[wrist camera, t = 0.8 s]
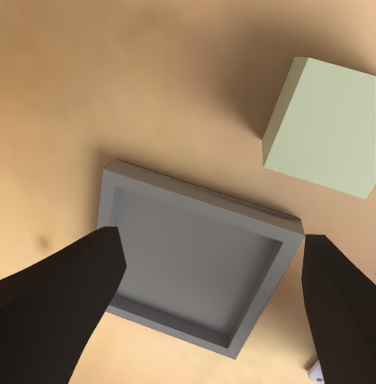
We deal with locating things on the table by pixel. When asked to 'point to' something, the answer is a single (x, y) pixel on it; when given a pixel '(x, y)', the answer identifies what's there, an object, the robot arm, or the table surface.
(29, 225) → the table surface
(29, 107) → the table surface
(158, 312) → the tray
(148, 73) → the table surface
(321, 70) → the cube
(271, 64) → the table surface
